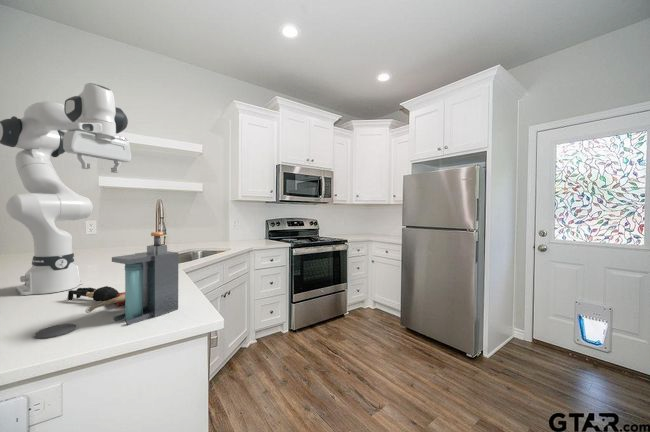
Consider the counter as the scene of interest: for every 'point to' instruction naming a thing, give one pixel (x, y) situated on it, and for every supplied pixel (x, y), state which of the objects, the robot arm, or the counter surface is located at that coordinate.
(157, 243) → the plunger
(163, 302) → the housing
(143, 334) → the counter surface
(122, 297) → the figurine
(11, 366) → the counter surface
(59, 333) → the pad
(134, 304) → the cartridge
